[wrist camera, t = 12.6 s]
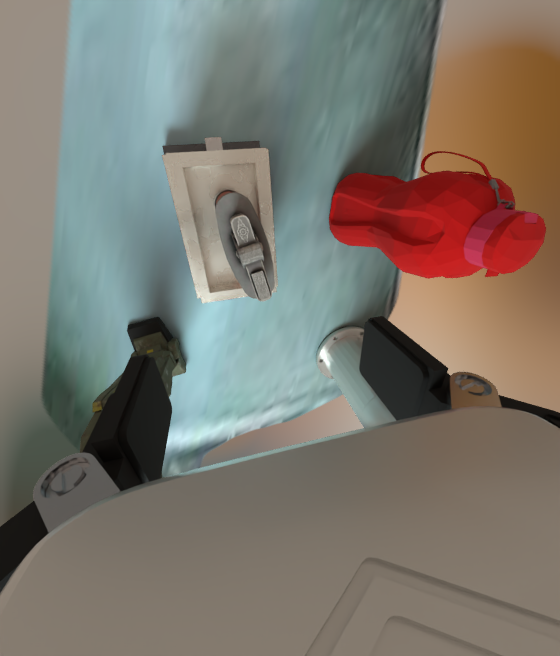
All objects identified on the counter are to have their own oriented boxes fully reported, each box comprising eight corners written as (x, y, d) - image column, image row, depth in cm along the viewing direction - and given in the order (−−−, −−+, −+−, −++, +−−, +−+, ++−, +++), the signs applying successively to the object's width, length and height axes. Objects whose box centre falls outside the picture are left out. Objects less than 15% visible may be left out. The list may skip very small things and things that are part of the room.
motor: (256, 142, 32) (282, 124, 21) (267, 267, 41) (290, 302, 29) (164, 147, 30) (138, 129, 19) (196, 276, 39) (190, 318, 27)
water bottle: (394, 163, 37) (632, 145, 16) (374, 241, 43) (534, 303, 22) (335, 156, 35) (524, 124, 14) (322, 239, 40) (445, 306, 19)
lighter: (205, 194, 23) (203, 205, 15) (240, 183, 24) (258, 187, 15) (236, 275, 28) (248, 318, 19) (265, 265, 28) (290, 303, 20)
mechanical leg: (104, 310, 37) (13, 602, 17) (154, 296, 38) (126, 560, 17) (151, 365, 47) (131, 590, 26) (190, 353, 48) (199, 564, 27)
